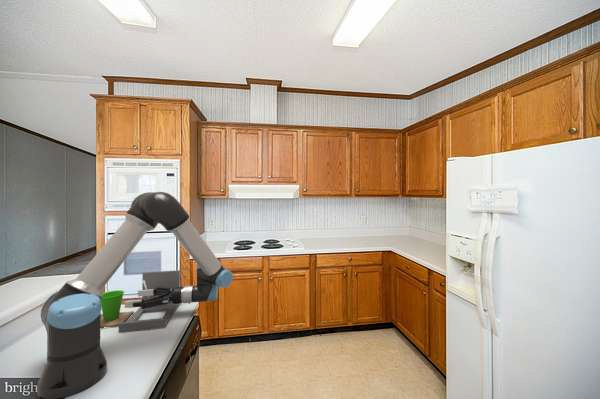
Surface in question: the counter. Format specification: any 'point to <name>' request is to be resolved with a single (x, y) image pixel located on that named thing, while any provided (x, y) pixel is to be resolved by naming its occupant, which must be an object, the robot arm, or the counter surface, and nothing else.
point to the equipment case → (152, 282)
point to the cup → (111, 304)
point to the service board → (121, 319)
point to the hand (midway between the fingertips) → (131, 298)
